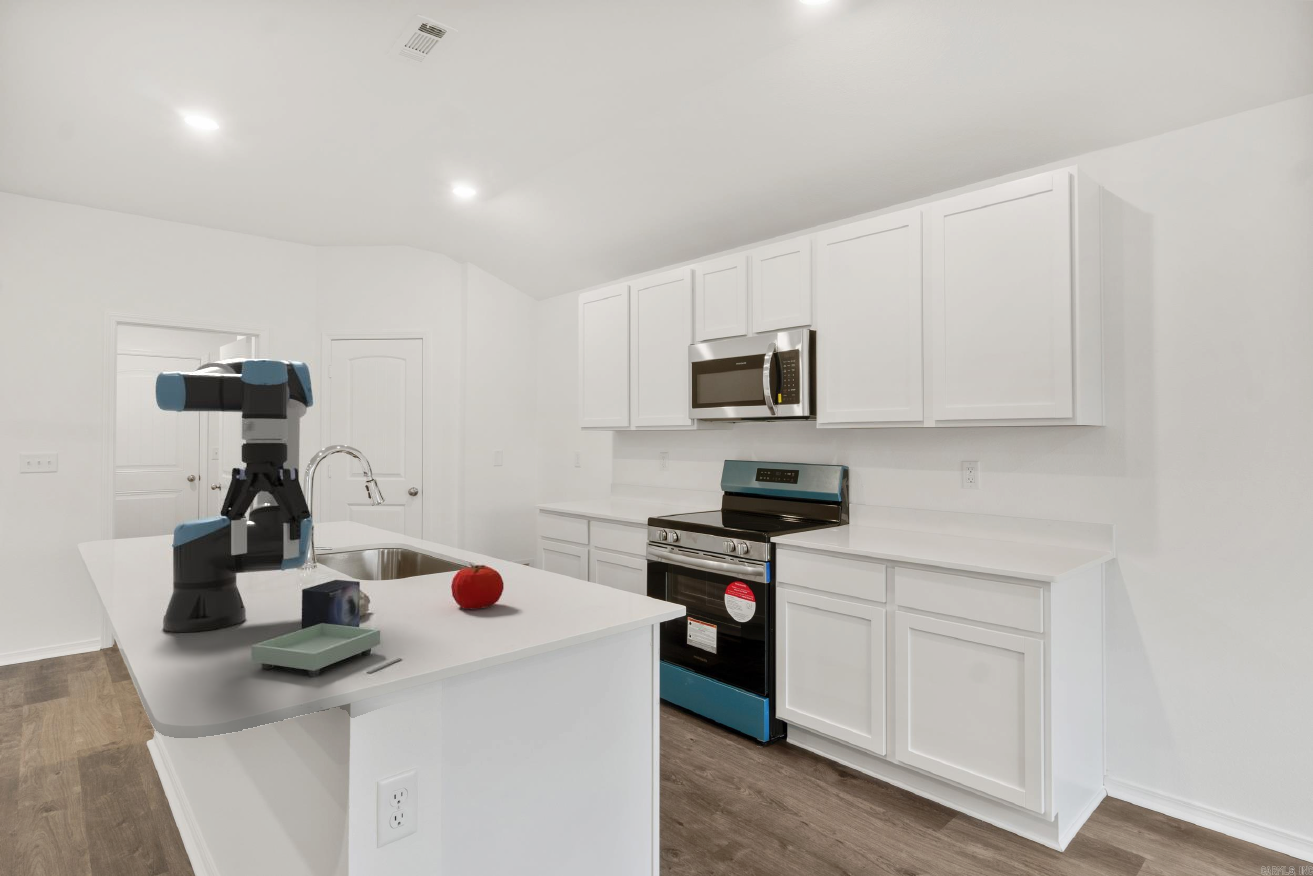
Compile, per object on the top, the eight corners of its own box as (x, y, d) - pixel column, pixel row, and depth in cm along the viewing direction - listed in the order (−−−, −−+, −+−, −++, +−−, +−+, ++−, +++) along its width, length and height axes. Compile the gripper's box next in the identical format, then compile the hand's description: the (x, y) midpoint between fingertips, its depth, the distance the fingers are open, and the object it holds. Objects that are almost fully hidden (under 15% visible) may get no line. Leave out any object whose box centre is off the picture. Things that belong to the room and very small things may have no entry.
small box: (328, 643, 135) (328, 590, 135) (299, 642, 136) (299, 589, 136) (361, 629, 145) (361, 580, 145) (334, 627, 146) (334, 579, 146)
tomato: (461, 601, 170) (461, 560, 170) (510, 602, 169) (509, 561, 169) (440, 612, 159) (440, 568, 159) (492, 614, 158) (492, 569, 158)
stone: (371, 629, 158) (378, 587, 163) (352, 616, 147) (359, 571, 152) (338, 631, 158) (345, 588, 162) (315, 617, 147) (324, 572, 151)
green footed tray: (251, 670, 119) (251, 645, 119) (321, 645, 133) (321, 623, 133) (314, 680, 114) (314, 653, 114) (380, 653, 129) (380, 629, 129)
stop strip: (366, 673, 117) (366, 671, 117) (398, 659, 125) (398, 658, 125) (370, 673, 117) (370, 672, 117) (402, 659, 125) (402, 658, 125)
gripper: (198, 442, 129) (198, 555, 129) (298, 441, 121) (298, 562, 121) (234, 441, 136) (234, 549, 136) (331, 441, 128) (331, 556, 128)
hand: (264, 555), depth 129 cm, fingers open, 12 cm apart
